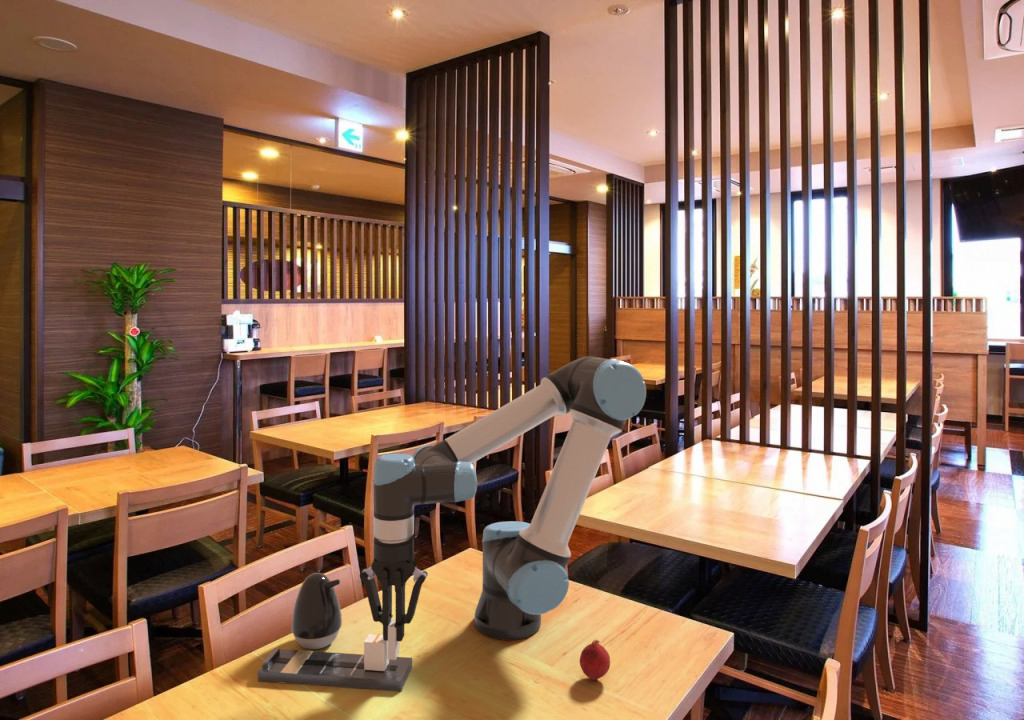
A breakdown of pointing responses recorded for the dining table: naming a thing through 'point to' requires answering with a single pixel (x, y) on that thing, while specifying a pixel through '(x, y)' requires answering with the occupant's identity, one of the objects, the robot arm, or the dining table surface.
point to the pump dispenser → (316, 612)
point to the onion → (594, 660)
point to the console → (332, 670)
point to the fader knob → (375, 653)
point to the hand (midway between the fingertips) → (393, 655)
